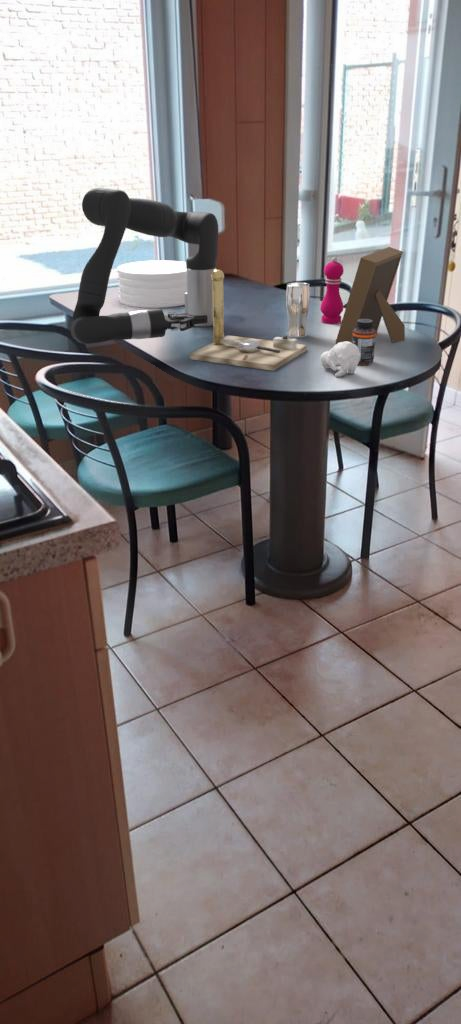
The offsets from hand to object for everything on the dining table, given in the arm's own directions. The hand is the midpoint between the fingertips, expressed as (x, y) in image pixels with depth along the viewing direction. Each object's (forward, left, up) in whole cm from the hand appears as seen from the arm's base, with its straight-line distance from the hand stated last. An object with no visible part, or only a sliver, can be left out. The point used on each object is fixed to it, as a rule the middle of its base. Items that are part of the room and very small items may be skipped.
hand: (206, 318), depth 215 cm
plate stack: (-50, +53, -9) cm, 74 cm away
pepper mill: (+19, +47, -9) cm, 52 cm away
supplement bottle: (+43, +7, -9) cm, 45 cm away
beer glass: (+16, +26, -9) cm, 32 cm away
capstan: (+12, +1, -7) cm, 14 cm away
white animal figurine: (+40, -4, -9) cm, 41 cm away
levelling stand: (+13, +1, -9) cm, 16 cm away
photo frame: (+39, +29, -9) cm, 50 cm away
